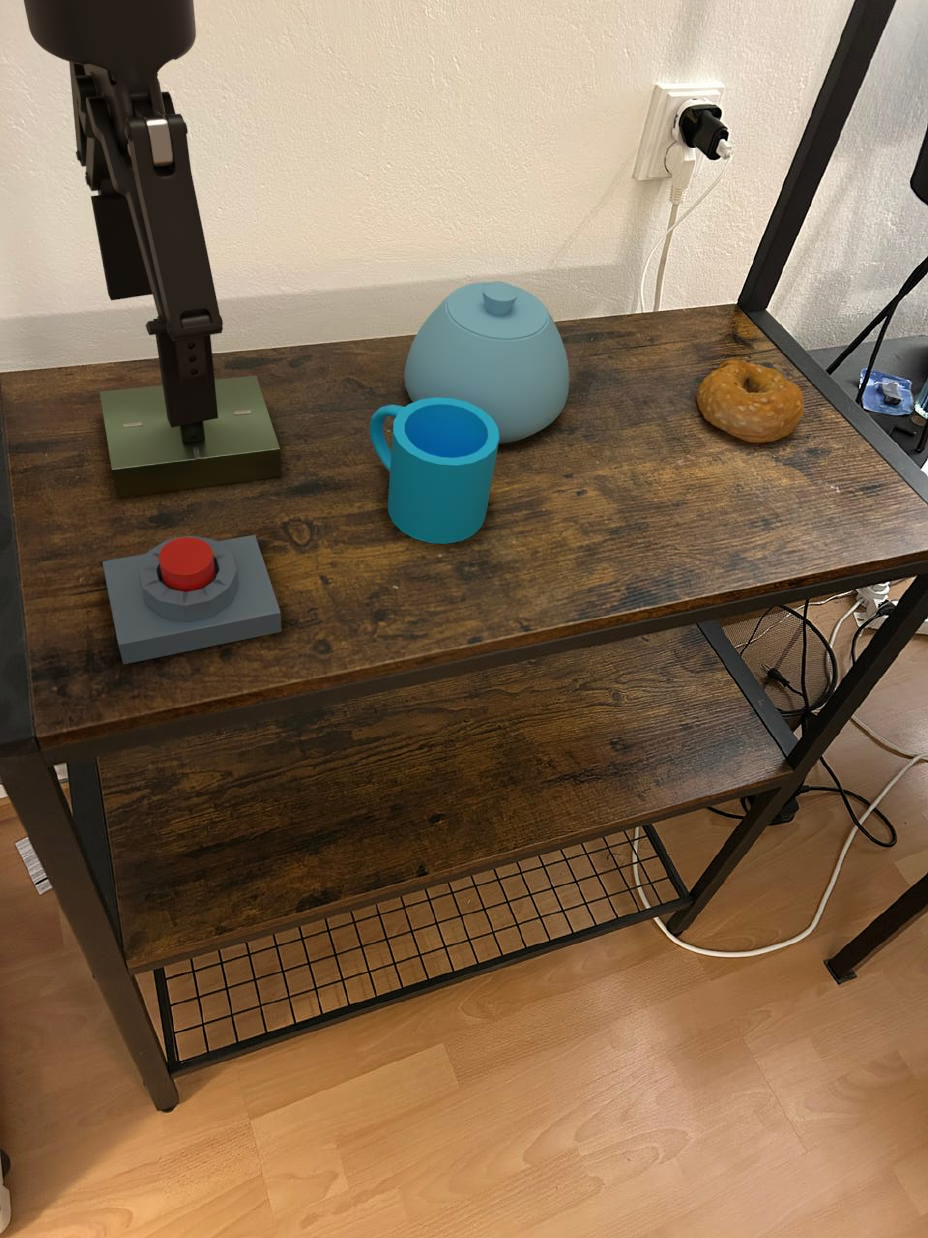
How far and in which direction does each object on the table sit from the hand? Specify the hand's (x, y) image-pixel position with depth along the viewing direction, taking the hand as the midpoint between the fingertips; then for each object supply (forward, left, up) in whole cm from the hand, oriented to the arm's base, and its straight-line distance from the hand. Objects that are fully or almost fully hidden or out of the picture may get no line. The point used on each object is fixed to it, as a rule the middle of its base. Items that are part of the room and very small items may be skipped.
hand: (160, 353), depth 59 cm
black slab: (+8, +10, -15) cm, 20 cm away
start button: (-3, -4, -15) cm, 16 cm away
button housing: (-3, -4, -19) cm, 19 cm away
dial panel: (+8, +10, -19) cm, 23 cm away
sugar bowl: (+32, -2, -19) cm, 37 cm away
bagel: (+50, -20, -19) cm, 57 cm away
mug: (+18, -7, -19) cm, 27 cm away
